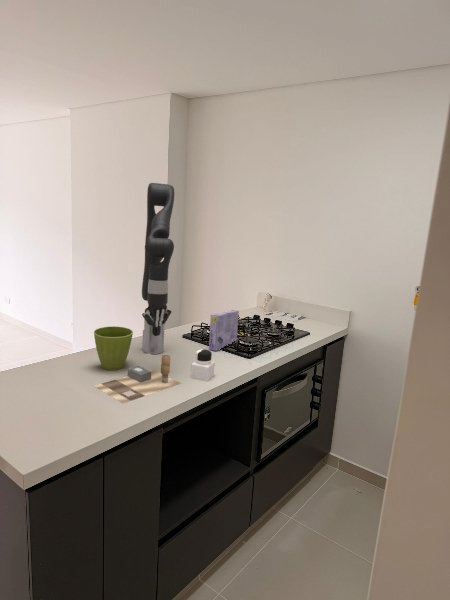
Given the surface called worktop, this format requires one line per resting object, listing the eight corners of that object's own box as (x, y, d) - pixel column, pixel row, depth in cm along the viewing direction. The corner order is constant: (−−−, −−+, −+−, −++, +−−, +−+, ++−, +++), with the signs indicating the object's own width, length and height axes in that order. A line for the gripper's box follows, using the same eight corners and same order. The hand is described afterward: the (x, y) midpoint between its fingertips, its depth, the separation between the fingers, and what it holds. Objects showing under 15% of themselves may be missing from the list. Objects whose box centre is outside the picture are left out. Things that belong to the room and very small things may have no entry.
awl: (158, 381, 156) (159, 356, 154) (165, 379, 158) (166, 354, 156) (164, 384, 154) (165, 358, 152) (170, 382, 156) (172, 356, 154)
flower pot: (139, 371, 168) (140, 333, 165) (106, 379, 157) (107, 339, 154) (118, 360, 178) (119, 324, 175) (86, 368, 167) (86, 330, 164)
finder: (127, 376, 159) (127, 367, 158) (138, 372, 162) (138, 364, 162) (140, 382, 154) (140, 373, 153) (151, 379, 157) (151, 370, 157)
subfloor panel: (93, 389, 148) (93, 385, 148) (151, 372, 167) (151, 369, 167) (122, 407, 137) (122, 403, 136) (181, 386, 156) (181, 383, 156)
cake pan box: (230, 341, 216) (232, 308, 212) (238, 343, 213) (241, 310, 210) (207, 349, 201) (209, 314, 197) (215, 352, 198) (218, 316, 194)
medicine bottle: (213, 378, 166) (215, 349, 164) (207, 384, 160) (209, 355, 157) (197, 375, 168) (199, 346, 166) (190, 381, 162) (191, 351, 159)
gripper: (165, 288, 164) (163, 330, 168) (137, 291, 154) (136, 335, 158) (177, 291, 159) (175, 334, 163) (150, 294, 150) (148, 340, 153)
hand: (156, 335), depth 160 cm, fingers closed
